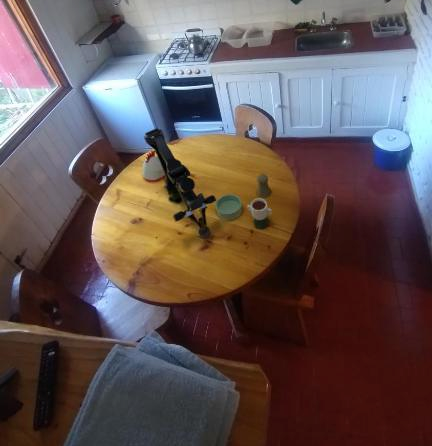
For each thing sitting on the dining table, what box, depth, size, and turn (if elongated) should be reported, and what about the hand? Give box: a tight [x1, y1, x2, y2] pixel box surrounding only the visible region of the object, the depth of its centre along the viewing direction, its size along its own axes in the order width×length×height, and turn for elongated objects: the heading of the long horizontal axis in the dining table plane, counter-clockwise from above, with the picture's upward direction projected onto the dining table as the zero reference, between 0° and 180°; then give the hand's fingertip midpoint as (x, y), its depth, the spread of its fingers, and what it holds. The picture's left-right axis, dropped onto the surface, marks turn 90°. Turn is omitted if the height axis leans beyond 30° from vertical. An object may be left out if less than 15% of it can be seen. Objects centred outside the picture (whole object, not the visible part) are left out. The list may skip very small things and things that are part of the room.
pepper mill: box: [256, 173, 271, 198], centre depth 166 cm, size 6×6×11 cm
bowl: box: [214, 193, 243, 221], centre depth 163 cm, size 12×12×4 cm
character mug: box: [246, 197, 273, 230], centre depth 151 cm, size 11×7×13 cm, turn 69°
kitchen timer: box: [141, 150, 165, 183], centre depth 189 cm, size 14×14×15 cm
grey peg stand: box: [197, 216, 212, 240], centre depth 145 cm, size 5×5×10 cm
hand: (203, 226), depth 143 cm, fingers closed on grey peg stand, 2 cm apart
